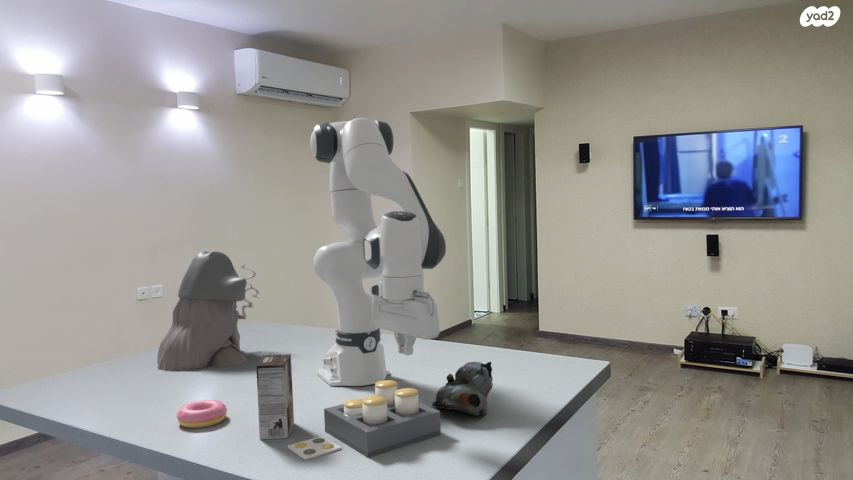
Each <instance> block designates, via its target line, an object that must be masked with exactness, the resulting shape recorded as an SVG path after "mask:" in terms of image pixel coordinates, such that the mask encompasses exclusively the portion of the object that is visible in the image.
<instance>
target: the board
mask: <svg viewBox="0 0 853 480" xmlns="http://www.w3.org/2000/svg"><path fill="white" fill-rule="evenodd" d="M323 411H324V412H323V416H324V419H323V420H324V431H325V433H327V434H329V435H331V436H332V437H334V438H335V439H337V440H339V441H340V442H341V443H344V444H345V445H346V446H348V447H350V448H351V449H353V450H355V451H356V452H358V453H360V454H362V456H364V457H366V458H371V457H374V456H377V455H380V454H383V453H386V452H390V451H393V450H396V449H399V448H403V447H405V446H409V445H412V444H415V443H418V442H422V441H424V440H427V439H431V438H434V437H437V436H440V435H441V434H442V431H441V430H442V429H441V425H442V424H441V410H439V409H437V408H433V407H431V406H428V405H426V404H424V403H421V402H419V413H418V414H415V415H411V416H408V417H404V418H403V417H401V416H399V415H397V414H396V410H395V405H392V406H388V407H387V420H388V422H386V423H383V424H379V425H376V426H372V427H369V426H367V425H366V424H364V423H363V413H361V414H358V415H354V416H349V415H347V414H345V413H344V403H342V404H338V405H334V406H330V407H326V408H323Z"/></svg>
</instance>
